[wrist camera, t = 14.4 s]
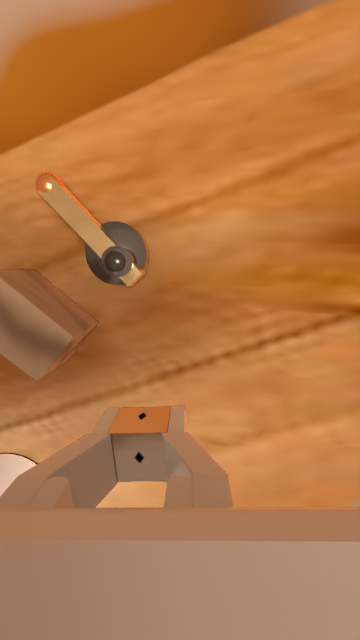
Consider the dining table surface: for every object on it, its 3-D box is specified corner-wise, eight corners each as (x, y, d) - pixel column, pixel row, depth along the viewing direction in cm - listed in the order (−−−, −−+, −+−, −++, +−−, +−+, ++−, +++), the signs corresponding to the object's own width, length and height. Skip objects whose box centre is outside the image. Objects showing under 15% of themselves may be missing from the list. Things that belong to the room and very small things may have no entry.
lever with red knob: (163, 258, 34) (156, 256, 28) (124, 297, 36) (109, 303, 29) (77, 164, 32) (49, 140, 26) (39, 209, 34) (5, 195, 27)
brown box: (68, 359, 38) (37, 382, 31) (-3, 302, 37) (-54, 311, 29) (98, 322, 37) (73, 336, 29) (25, 262, 36) (-22, 260, 28)
